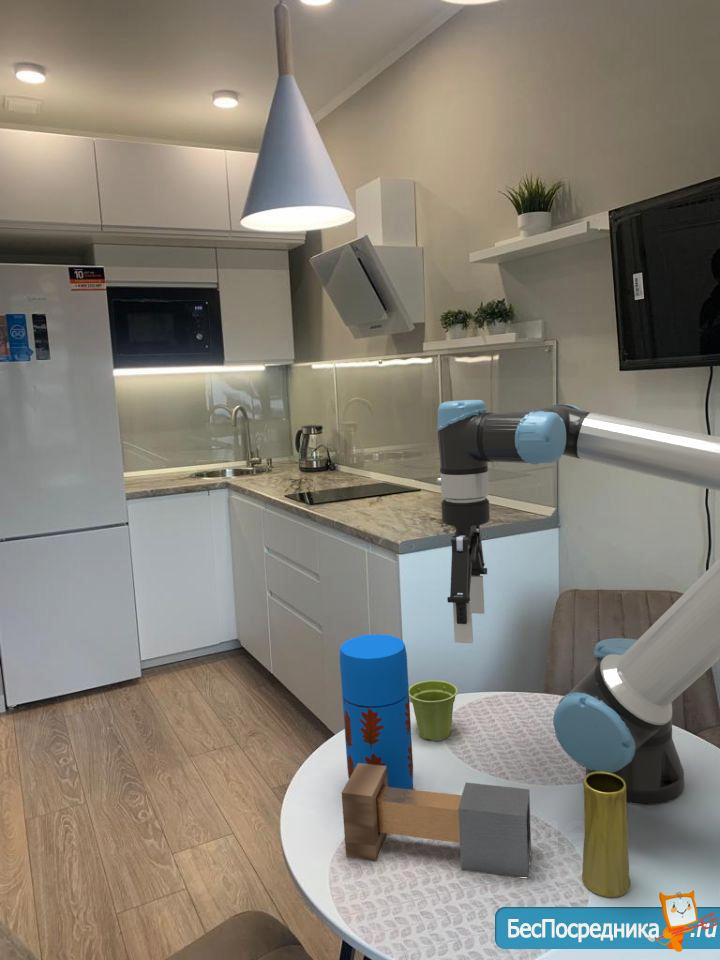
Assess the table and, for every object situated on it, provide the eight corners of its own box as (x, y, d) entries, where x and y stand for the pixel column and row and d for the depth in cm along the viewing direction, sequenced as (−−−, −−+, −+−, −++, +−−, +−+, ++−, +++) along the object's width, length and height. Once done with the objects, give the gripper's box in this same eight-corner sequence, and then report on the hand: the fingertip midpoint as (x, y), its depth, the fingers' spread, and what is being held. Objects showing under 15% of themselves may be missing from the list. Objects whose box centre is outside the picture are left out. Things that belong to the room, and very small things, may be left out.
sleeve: (531, 848, 103) (529, 789, 102) (527, 879, 97) (525, 816, 96) (468, 840, 106) (465, 782, 105) (461, 869, 100) (458, 808, 99)
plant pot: (402, 727, 141) (400, 685, 140) (447, 717, 144) (445, 676, 142) (420, 750, 132) (418, 705, 131) (467, 739, 135) (465, 695, 134)
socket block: (390, 826, 110) (386, 766, 109) (376, 861, 103) (371, 796, 101) (362, 823, 112) (358, 762, 110) (346, 856, 104) (341, 792, 103)
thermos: (409, 810, 114) (400, 659, 111) (343, 806, 116) (332, 658, 113) (417, 773, 125) (409, 634, 121) (356, 769, 127) (347, 633, 123)
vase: (592, 860, 100) (590, 764, 98) (637, 877, 96) (636, 778, 94) (574, 885, 96) (572, 785, 93) (621, 905, 92) (620, 801, 90)
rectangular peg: (484, 830, 103) (483, 797, 103) (481, 846, 100) (480, 812, 99) (366, 815, 109) (364, 784, 108) (359, 829, 105) (357, 798, 105)
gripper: (454, 485, 128) (459, 601, 131) (425, 514, 104) (432, 654, 107) (497, 485, 125) (501, 603, 128) (477, 514, 102) (483, 657, 105)
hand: (470, 626), depth 118 cm, fingers open, 13 cm apart
